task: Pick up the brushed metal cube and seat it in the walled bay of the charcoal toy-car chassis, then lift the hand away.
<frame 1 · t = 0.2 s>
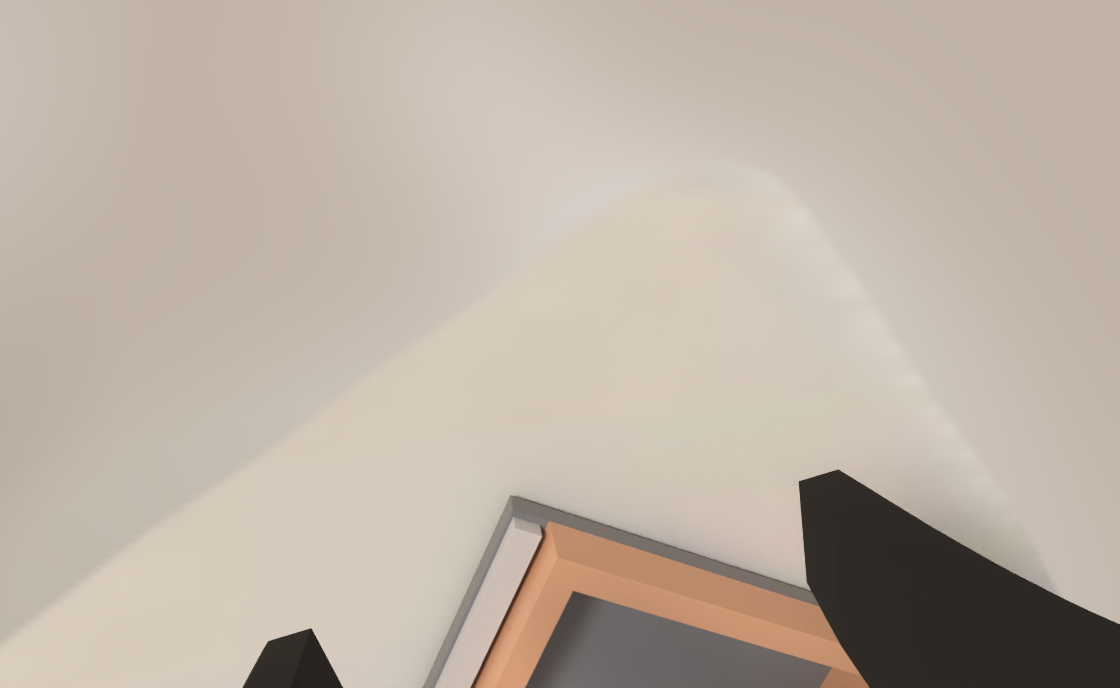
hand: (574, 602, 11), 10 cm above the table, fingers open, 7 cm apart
chassis: (650, 683, 25), on the table
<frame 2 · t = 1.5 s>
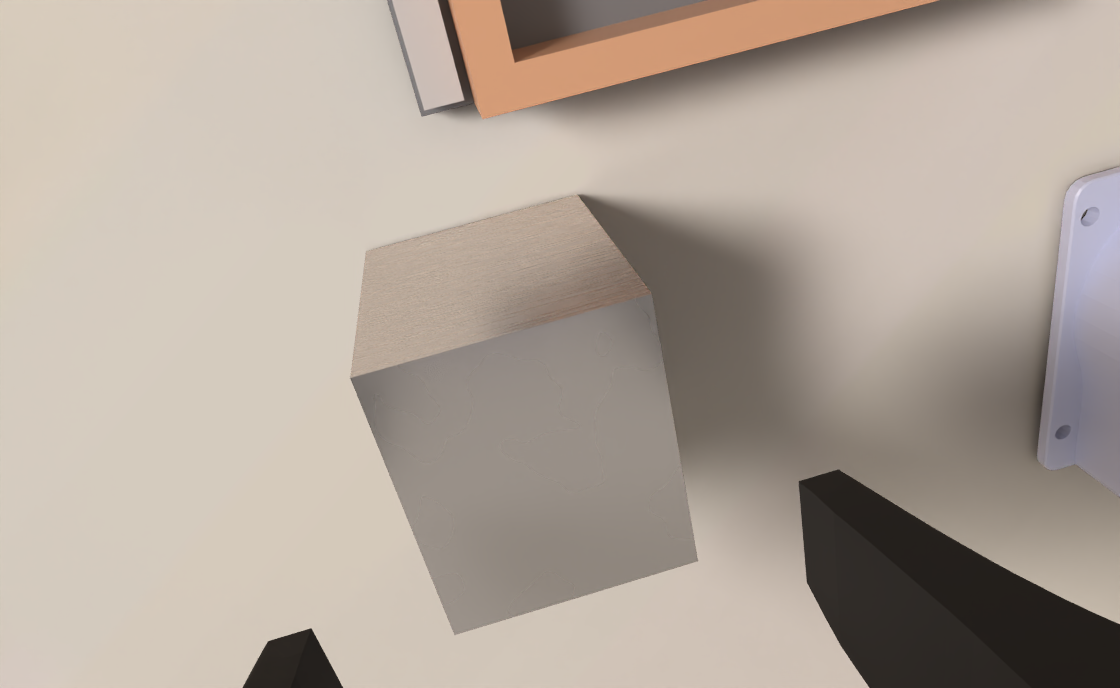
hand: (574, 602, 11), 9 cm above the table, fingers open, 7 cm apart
brushed metal cube: (504, 335, 19), on the table
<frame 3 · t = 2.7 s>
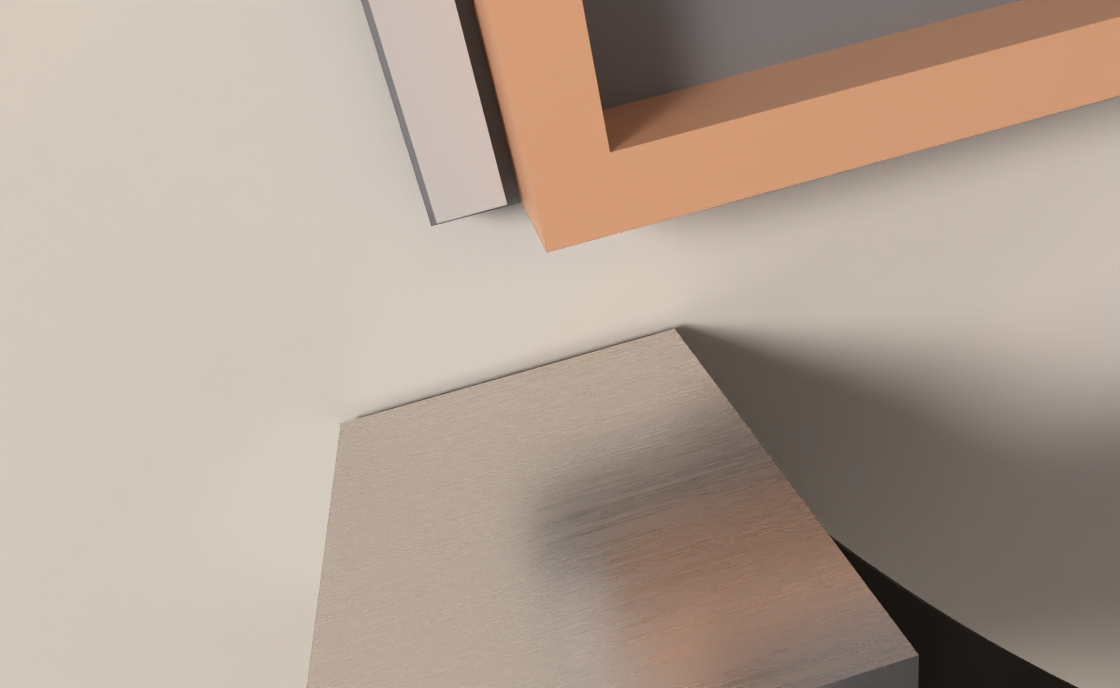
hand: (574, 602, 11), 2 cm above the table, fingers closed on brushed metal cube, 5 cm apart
brushed metal cube: (554, 529, 12), on the table, touching gripper
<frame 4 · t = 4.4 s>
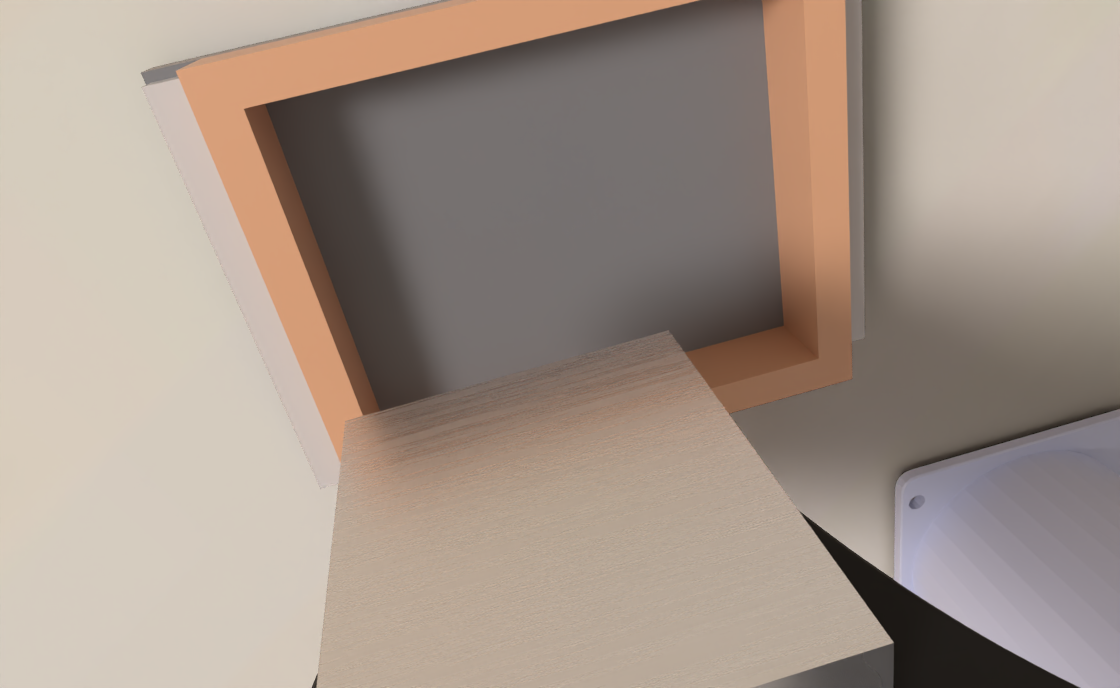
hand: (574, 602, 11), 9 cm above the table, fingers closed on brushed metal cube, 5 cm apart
chassis: (551, 214, 17), on the table
brushed metal cube: (551, 523, 13), point 7 cm above the table, touching gripper
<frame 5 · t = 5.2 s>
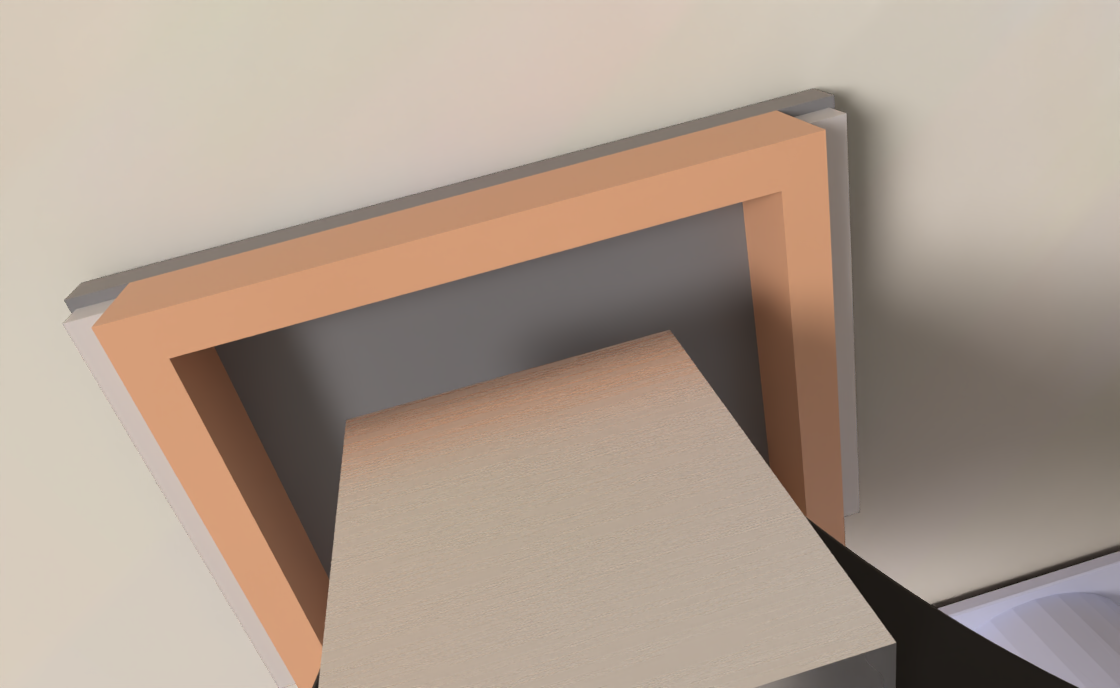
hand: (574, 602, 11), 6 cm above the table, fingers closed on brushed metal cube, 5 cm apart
chassis: (520, 398, 16), on the table
brushed metal cube: (552, 522, 13), point 4 cm above the table, touching gripper
when the fingers open (4 cm above the table, at t = 6.1 s): brushed metal cube stays where it is, resting on chassis.
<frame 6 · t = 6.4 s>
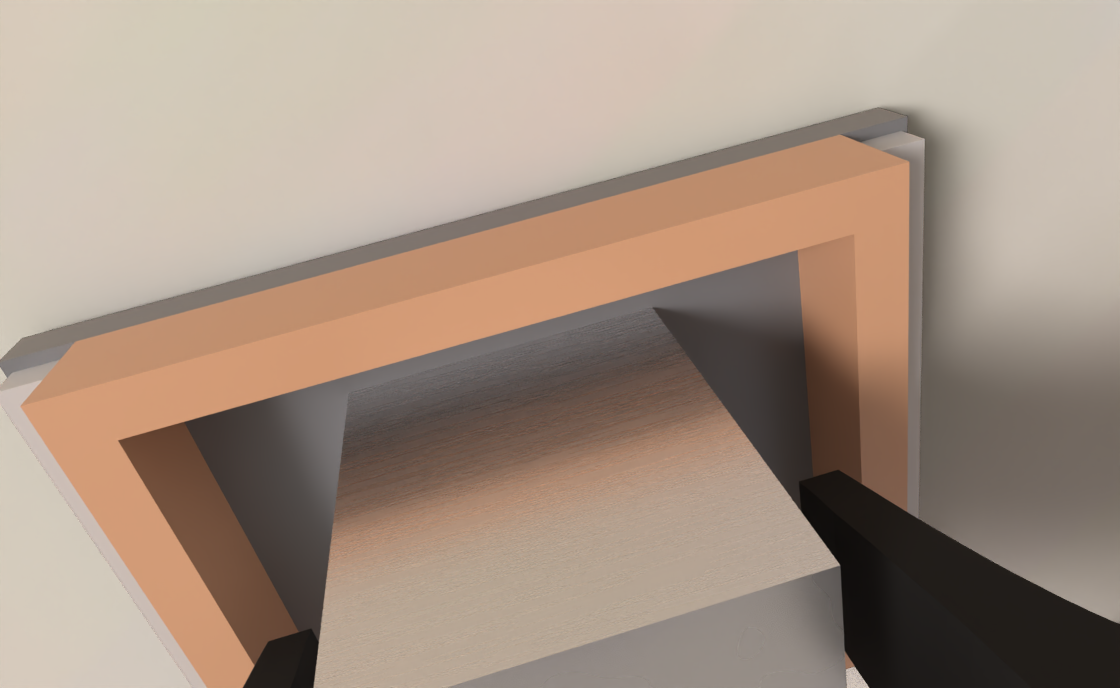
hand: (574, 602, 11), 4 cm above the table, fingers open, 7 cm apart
chassis: (535, 459, 14), on the table
brushed metal cube: (543, 493, 14), point 1 cm above the table, touching chassis
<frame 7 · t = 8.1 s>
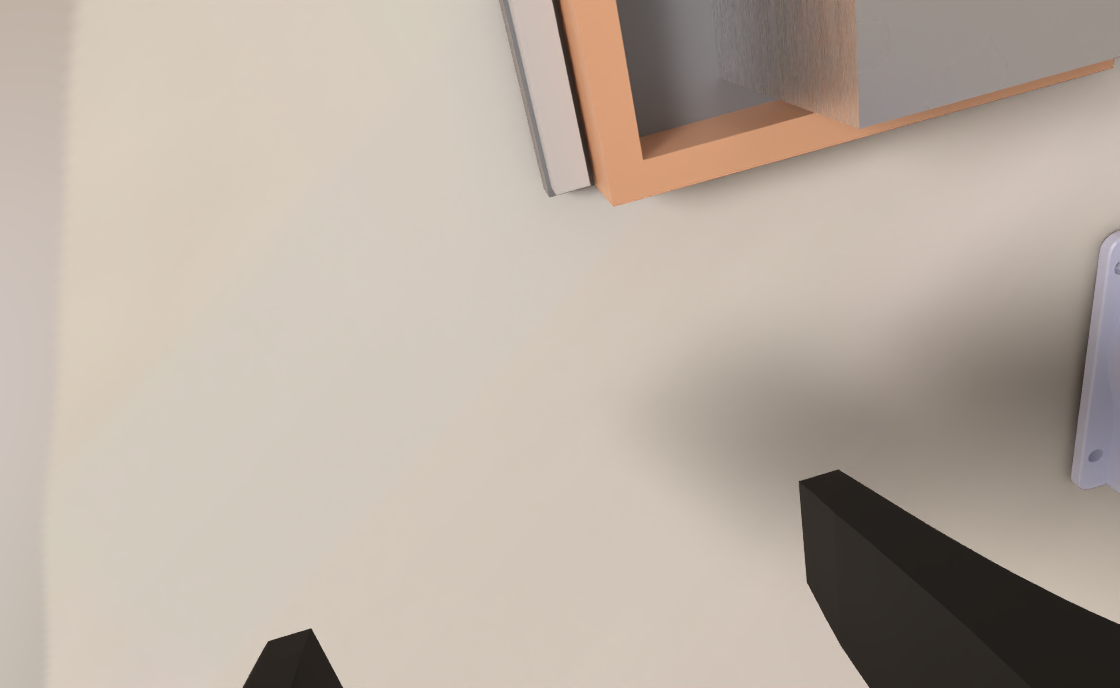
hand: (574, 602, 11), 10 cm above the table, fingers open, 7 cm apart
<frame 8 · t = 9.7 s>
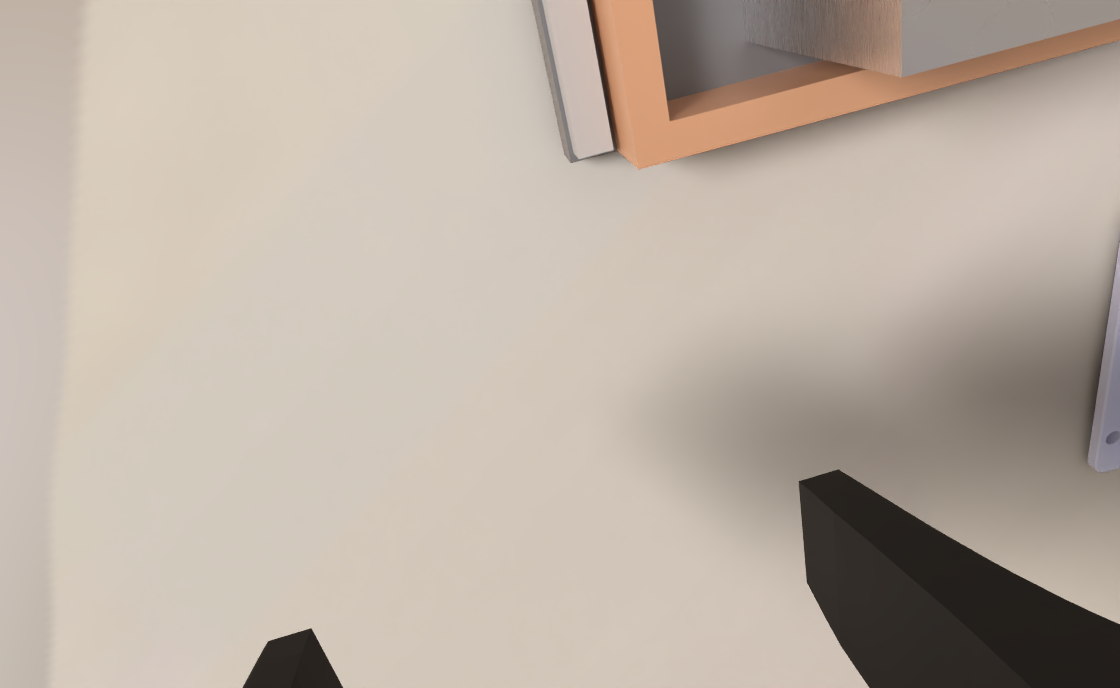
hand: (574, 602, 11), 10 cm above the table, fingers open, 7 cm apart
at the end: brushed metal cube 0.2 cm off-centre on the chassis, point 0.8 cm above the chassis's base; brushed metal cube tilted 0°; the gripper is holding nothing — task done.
